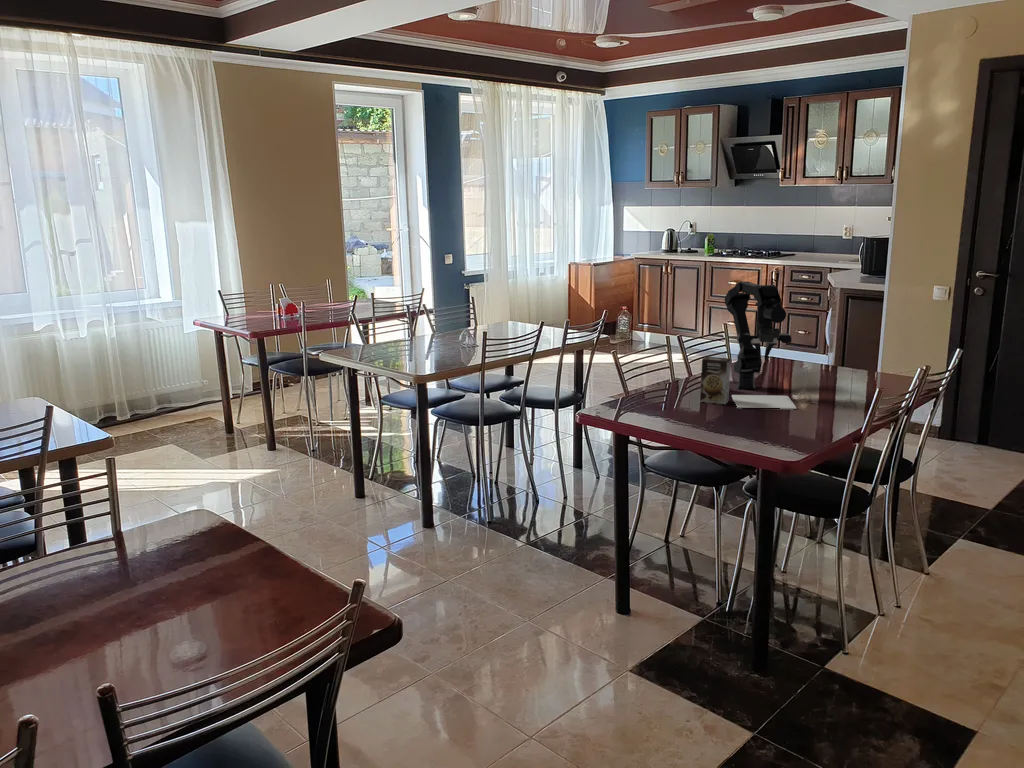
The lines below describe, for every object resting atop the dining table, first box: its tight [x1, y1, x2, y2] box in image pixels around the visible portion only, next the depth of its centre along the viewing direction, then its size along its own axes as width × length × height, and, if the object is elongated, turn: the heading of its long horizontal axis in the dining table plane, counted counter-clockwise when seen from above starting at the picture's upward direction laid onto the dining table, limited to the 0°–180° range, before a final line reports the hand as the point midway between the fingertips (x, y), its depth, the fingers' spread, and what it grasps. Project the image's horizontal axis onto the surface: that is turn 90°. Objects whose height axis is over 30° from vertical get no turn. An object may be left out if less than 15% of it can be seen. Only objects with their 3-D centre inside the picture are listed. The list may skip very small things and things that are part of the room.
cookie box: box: [700, 356, 731, 406], centre depth 286 cm, size 9×6×16 cm
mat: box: [731, 394, 797, 410], centre depth 284 cm, size 18×20×1 cm
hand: (762, 361), depth 293 cm, fingers closed
